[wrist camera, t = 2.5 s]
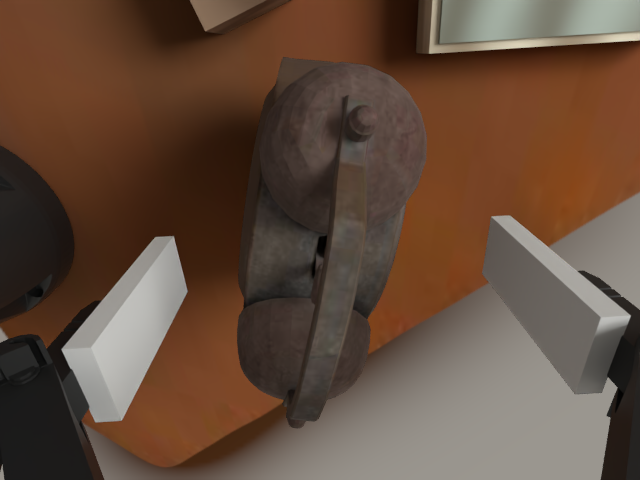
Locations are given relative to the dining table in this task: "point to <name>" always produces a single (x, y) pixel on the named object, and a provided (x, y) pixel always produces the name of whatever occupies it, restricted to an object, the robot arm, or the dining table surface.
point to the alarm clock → (322, 226)
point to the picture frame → (523, 23)
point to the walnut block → (231, 12)
